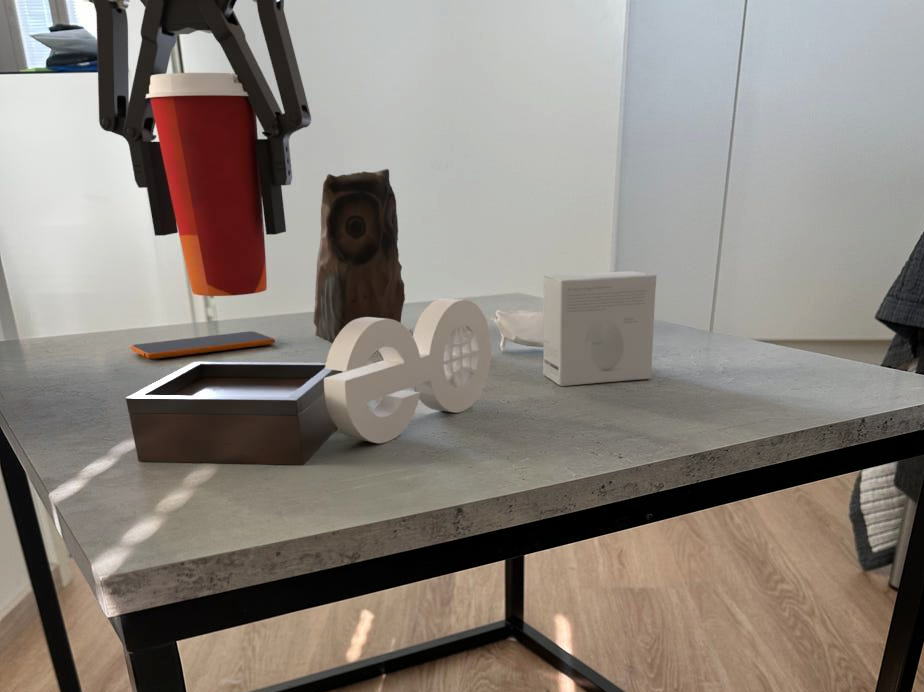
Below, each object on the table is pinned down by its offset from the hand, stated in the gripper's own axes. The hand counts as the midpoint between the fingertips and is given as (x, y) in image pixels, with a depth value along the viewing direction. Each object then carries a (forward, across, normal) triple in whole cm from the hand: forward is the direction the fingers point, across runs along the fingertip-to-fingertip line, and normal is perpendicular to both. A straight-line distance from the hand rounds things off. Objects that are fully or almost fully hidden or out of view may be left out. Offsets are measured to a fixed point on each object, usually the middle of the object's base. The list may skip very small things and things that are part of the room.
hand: (221, 233), depth 73 cm
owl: (+17, +2, -49) cm, 52 cm away
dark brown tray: (+17, 0, 0) cm, 17 cm away
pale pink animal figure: (+17, -23, -40) cm, 49 cm away
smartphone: (+17, +20, -40) cm, 48 cm away
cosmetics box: (+17, -30, -26) cm, 43 cm away
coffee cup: (+5, 0, 0) cm, 5 cm away
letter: (+17, -14, -6) cm, 23 cm away
